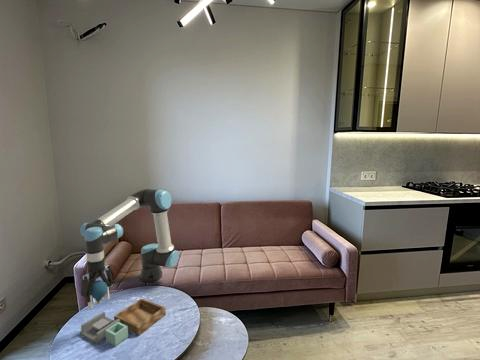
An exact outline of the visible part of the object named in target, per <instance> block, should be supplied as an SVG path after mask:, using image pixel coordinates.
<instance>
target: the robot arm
mask: <svg viewBox="0 0 480 360" xmlns="http://www.w3.org/2000/svg"><path fill="white" fill-rule="evenodd" d="M172 201H173V200H172V196H171V193H170V192H169V191H167V190H164V189H151V188H144V189H141V190H138V191H136V192H134V193H132V194H130V195H129V196H128V197H127V198H126V200H124V201H123V202H122V203H120V204H119V205H117V206H115V207H114V208H112V209H111V210H109V211H107V212H106V213H104V214H103V215H102V216H100V217H98V218H97V219H95V220H93V221H92V222H85V223H83V224H82V225H81V226H80V229H79V230H80V231H79V233H80V235H81V236H83V237H84V243H85V244H84V245H85V253H86V254H85V255H86V265H87V267H86V268H87V273H86V274H82V275H81V281H82V282H81V290H80V293H81V294H80V295H81V296H82V297H83V298H85V302H86V303H87V308H89V309H93V308H94V304H93V303H94V301H93V298H92V295H91V291H92V288H93V285H94V282H95V281H97V280H98V278H101V281H104V282H105V283H106V284H107V292H106V294H105V295H104V298H105V299H106V300H109V299H110V292H111V286H112V284H113V283H114V279H113V275H112V270H111V265H109V264H106V262H105V250H104V245H106V244H108V243H110V242H113V241H115V240H118V239H119V238H122V237H123V234H124V228H123V226H122V225H120V224H119V223H118V222H119V221H121V220H122V219H123V218H125V217H126V216H127V215H129V214H130V213H132V212H134V211H136V210H139V209H141V208H149V213H150V214H152V215H153V216H152V217H153V222H154V228H155V235H156V240H157V243H150V244H146V245H144V246H142V247H141V249H140V258H141V269H140V274H139V280H140V281H141V282H143V283H153V282H156V281H159V280H160V279H162V278H163V271H162V268H169V269H170V268H172V269H173V268H174V267H175V266H176V264H177V263H178V260H179V256H180V253H179V250H175V249H176V248H175V245H174V244H173V243H172V240H171V239H172V238H171V232H170V226H169V225H170V223H169V219H168V218H169V217H168V211H169V210H170V207H171V205H172ZM117 223H118V224H117ZM161 267H162V268H161Z"/></svg>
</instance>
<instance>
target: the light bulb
mask: <svg viewBox="0 0 480 360" xmlns="http://www.w3.org/2000/svg"><path fill="white" fill-rule="evenodd" d="M106 292H107V284H106V283H105V282H104V281H103V280H102V279H101V280H99V279H97V280H95V282H94V285H93V288H92V291H91V295H92V299H95V301H96V305H100V304H102V299H103V297H105V294H106Z"/></svg>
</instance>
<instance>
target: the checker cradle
mask: <svg viewBox="0 0 480 360" xmlns="http://www.w3.org/2000/svg"><path fill="white" fill-rule="evenodd" d="M102 318H103V319H105V320H107V321H109V322H110V324H109V325H108V326H106V327H105V328H103V329H102V330H100V331H99V330H97V329H95V328H93V327H92V325H93V324H94V323H96V322H98V321H99V320H101V319H102ZM117 322H120V319H117V320H116V321H114V319H111V318H110V317H107V316H106V312H104V311H102V312H100V313H99V314H97V315H95V316H94V317H92V318H91V319H89V320H87V321H85V322H84V323H82V324H80V325H81V326H80V327H81V331H79V336H80V337H82V338H84V339H85V340H88V341H89V342H91V343H93V344H95V345H97V346H98V345H99V344H101V343H103V342H104V341H106V333H105V330H106V329H108V328H109V327H111V326H112V325H114V324H115V323H117Z"/></svg>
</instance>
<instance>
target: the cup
mask: <svg viewBox="0 0 480 360" xmlns="http://www.w3.org/2000/svg"><path fill="white" fill-rule="evenodd" d="M105 333H106V340H105V342H107V343H109V344H110V345H112V346H114V347H115V348H116V347H118V346H119V345H120V344H121V343H123V342H124V341H126V340H127V339H128V338H129V331H128V326H126V325H124V324H122V323H120V322H117V323H115V324H114V325H112V326H111V327H109V328H108V329H106V330H105Z"/></svg>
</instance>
